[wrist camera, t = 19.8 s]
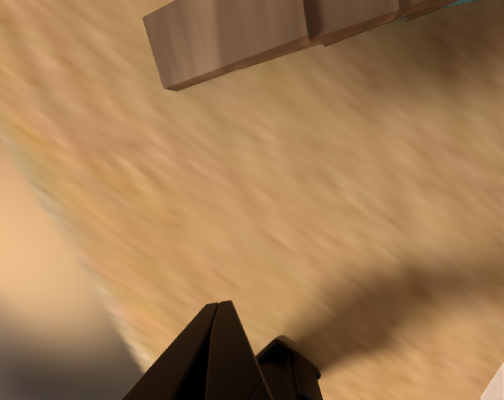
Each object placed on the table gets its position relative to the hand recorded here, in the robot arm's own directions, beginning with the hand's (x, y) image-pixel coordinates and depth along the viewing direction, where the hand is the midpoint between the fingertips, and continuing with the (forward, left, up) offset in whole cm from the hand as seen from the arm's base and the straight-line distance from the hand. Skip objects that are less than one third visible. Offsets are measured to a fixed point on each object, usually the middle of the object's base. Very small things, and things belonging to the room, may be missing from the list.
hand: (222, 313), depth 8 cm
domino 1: (+5, +11, -12) cm, 17 cm away
